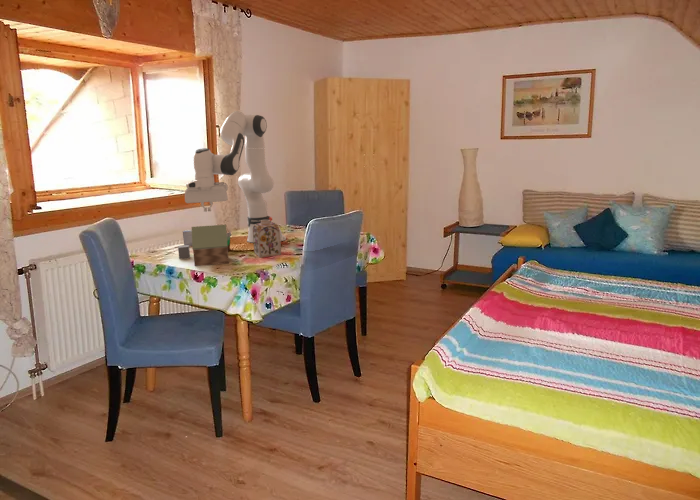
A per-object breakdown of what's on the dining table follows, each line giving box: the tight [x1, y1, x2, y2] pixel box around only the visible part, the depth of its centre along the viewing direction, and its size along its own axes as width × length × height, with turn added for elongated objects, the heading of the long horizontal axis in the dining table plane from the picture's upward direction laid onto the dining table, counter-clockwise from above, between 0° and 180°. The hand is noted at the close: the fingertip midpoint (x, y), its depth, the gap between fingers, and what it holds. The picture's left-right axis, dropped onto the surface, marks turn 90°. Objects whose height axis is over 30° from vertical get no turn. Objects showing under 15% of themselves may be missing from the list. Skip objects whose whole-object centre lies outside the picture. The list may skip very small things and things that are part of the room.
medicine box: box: [182, 229, 192, 247], centre depth 308 cm, size 8×4×9 cm, turn 84°
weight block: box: [177, 244, 191, 260], centre depth 280 cm, size 5×5×6 cm
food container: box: [227, 231, 232, 252], centre depth 291 cm, size 12×6×10 cm, turn 117°
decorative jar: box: [252, 220, 282, 258], centre depth 280 cm, size 12×12×18 cm
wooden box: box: [192, 247, 229, 267], centre depth 269 cm, size 16×12×8 cm
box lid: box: [191, 224, 228, 250], centre depth 265 cm, size 16×12×1 cm
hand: (207, 211), depth 265 cm, fingers closed
